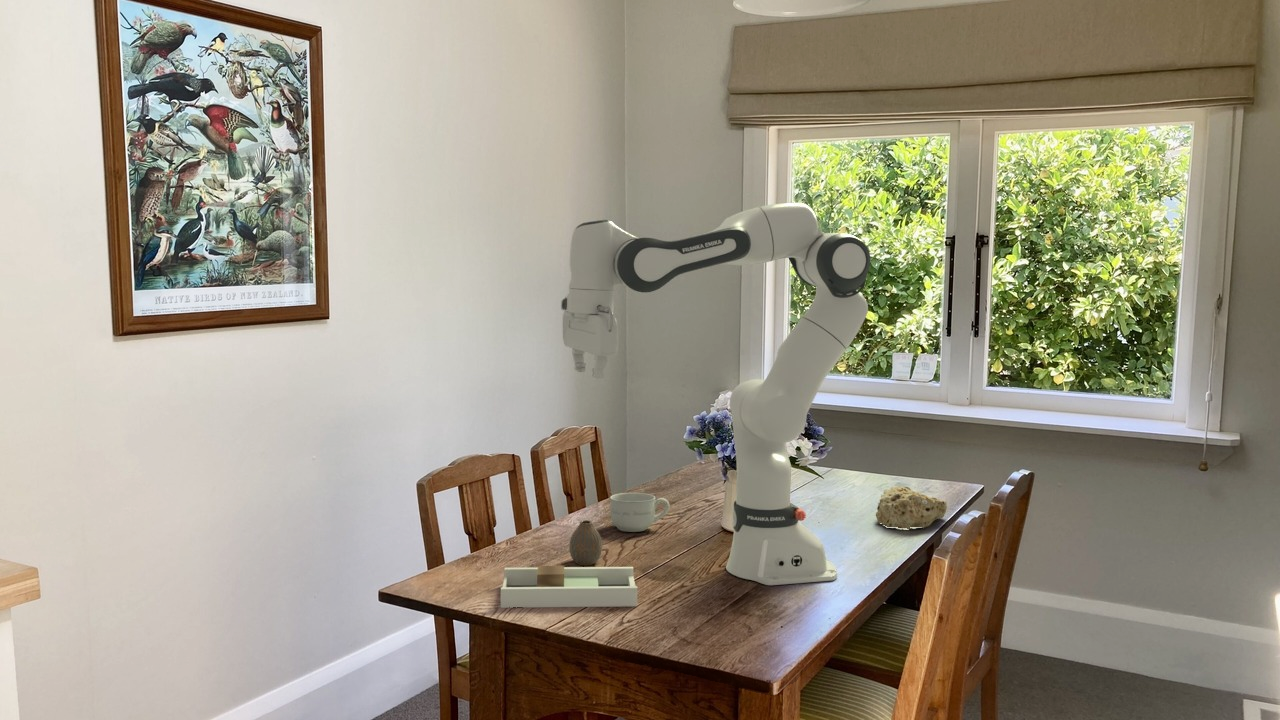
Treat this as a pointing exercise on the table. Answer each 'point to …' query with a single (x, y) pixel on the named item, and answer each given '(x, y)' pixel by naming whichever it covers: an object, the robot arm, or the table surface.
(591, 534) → the vase
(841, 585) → the table surface
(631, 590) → the box
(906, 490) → the rock
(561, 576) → the walnut block
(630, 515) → the teacup
